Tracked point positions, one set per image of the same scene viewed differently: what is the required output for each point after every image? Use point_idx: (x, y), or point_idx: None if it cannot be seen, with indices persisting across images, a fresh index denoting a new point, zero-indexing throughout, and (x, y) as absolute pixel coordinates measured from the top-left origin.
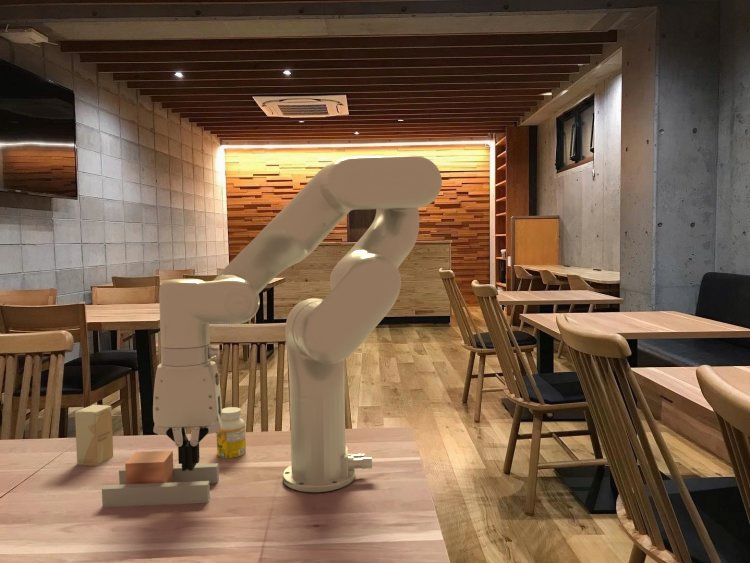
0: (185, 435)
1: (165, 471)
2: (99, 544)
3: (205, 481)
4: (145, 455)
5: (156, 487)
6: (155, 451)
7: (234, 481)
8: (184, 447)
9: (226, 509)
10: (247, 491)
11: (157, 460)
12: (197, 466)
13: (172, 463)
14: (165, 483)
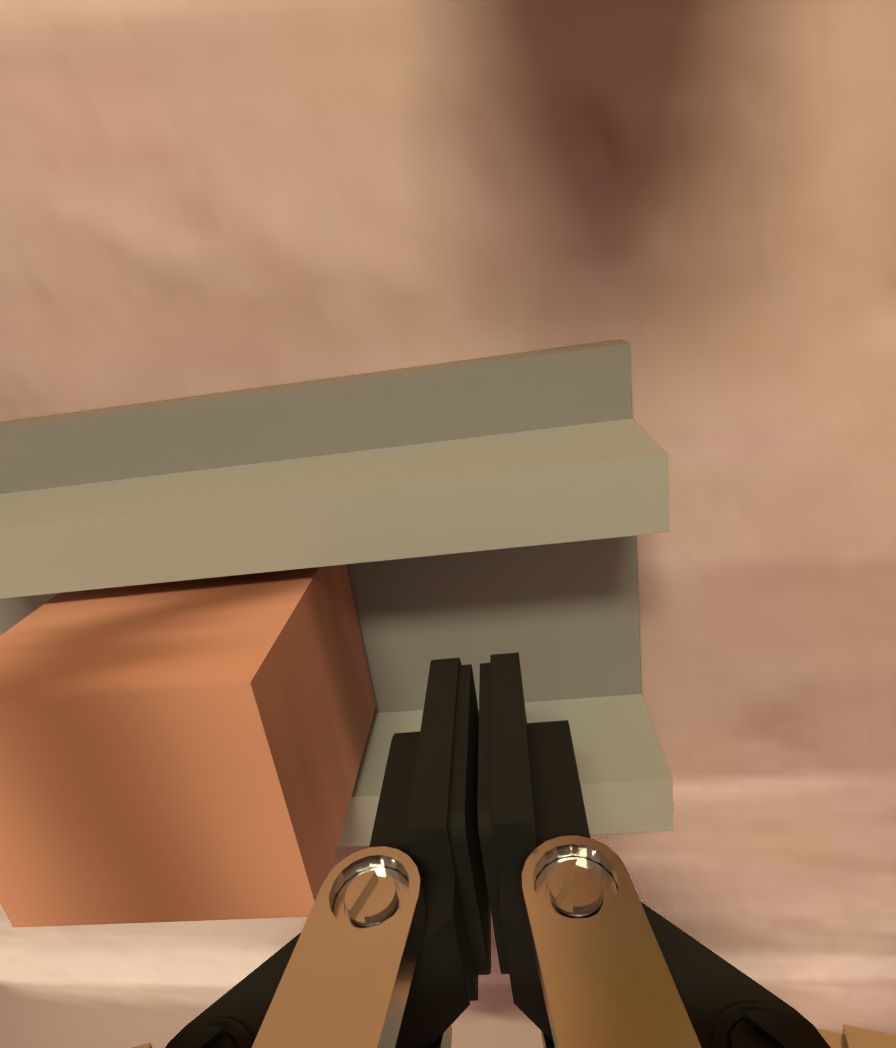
0: (416, 961)
1: (335, 815)
2: (273, 950)
3: (646, 787)
4: (55, 786)
5: (340, 845)
6: (83, 702)
7: (725, 315)
8: (476, 988)
9: (738, 710)
10: (845, 487)
11: (242, 888)
12: (491, 529)
13: (295, 637)
14: (372, 805)
